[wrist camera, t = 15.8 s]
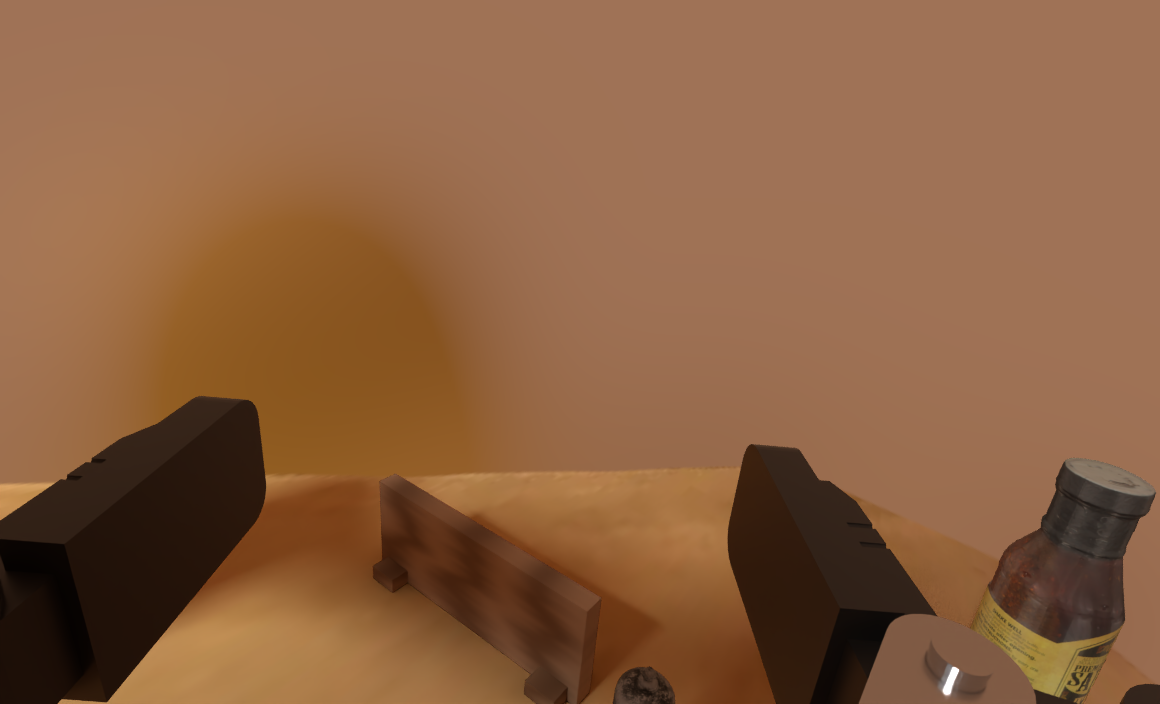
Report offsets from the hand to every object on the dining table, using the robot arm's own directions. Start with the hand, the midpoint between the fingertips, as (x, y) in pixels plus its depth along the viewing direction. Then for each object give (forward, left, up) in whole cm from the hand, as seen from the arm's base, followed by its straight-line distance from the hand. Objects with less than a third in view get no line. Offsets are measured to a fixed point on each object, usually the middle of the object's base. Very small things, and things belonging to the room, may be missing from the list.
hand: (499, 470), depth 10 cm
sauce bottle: (+31, +20, -30) cm, 47 cm away
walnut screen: (-4, +26, -30) cm, 40 cm away
